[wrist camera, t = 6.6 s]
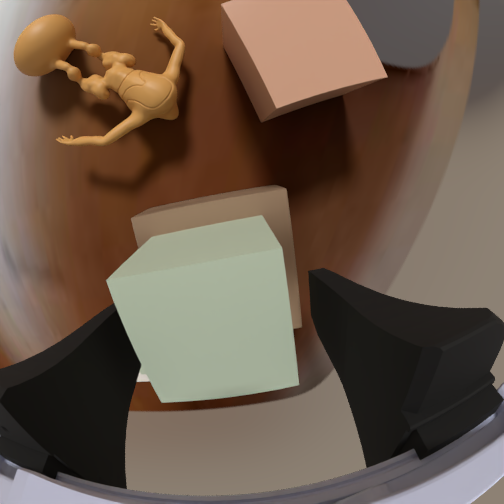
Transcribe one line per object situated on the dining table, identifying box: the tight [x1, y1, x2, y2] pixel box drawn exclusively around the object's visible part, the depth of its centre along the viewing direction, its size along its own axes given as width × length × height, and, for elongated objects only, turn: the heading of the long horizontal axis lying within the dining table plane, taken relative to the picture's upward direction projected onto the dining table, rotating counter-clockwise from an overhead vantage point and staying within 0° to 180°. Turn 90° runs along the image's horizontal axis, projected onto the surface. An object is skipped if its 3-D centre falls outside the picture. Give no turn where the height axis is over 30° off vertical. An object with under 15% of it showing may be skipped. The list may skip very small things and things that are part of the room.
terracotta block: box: [221, 0, 387, 123], centre depth 10 cm, size 5×5×5 cm
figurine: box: [14, 14, 185, 146], centre depth 10 cm, size 8×6×12 cm
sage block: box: [106, 215, 299, 402], centre depth 10 cm, size 5×5×5 cm
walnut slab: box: [131, 185, 302, 329], centre depth 14 cm, size 7×7×3 cm
